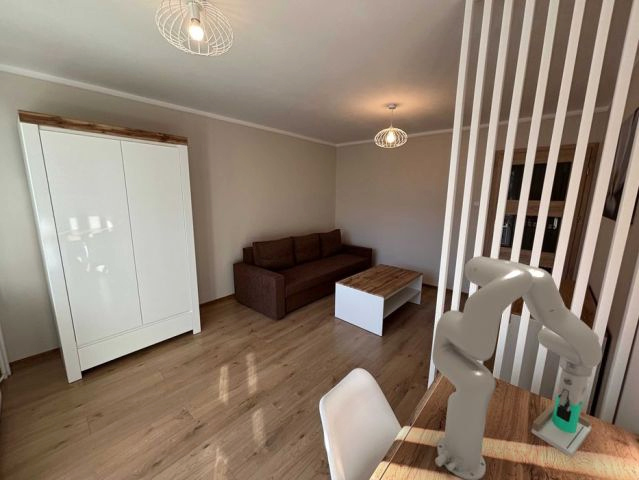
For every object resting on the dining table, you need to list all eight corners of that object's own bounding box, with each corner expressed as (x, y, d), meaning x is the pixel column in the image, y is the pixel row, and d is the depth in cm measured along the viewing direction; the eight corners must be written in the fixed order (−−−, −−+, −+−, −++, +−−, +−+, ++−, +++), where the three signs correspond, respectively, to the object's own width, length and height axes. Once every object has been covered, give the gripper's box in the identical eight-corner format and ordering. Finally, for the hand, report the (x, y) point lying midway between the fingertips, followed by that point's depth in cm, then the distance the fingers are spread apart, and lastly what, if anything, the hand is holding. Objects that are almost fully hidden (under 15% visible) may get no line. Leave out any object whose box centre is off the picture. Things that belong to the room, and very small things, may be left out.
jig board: (571, 457, 79) (573, 446, 78) (531, 432, 87) (533, 421, 87) (590, 430, 88) (592, 420, 88) (552, 410, 97) (554, 400, 96)
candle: (566, 418, 91) (572, 387, 89) (581, 434, 85) (588, 401, 83) (547, 416, 92) (553, 386, 90) (561, 432, 86) (567, 399, 84)
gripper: (582, 381, 77) (571, 435, 80) (600, 363, 86) (589, 412, 89) (550, 367, 84) (541, 417, 87) (569, 351, 92) (560, 398, 95)
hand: (565, 414), depth 88 cm, fingers closed on candle, 4 cm apart
